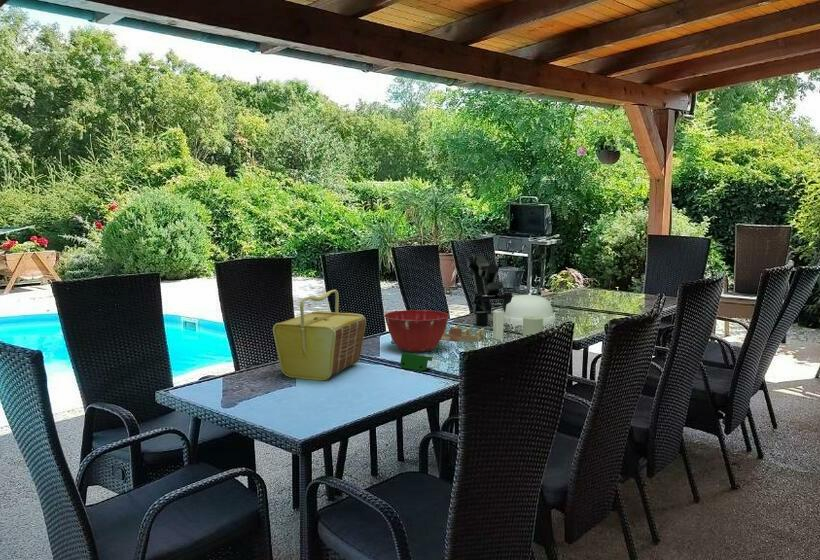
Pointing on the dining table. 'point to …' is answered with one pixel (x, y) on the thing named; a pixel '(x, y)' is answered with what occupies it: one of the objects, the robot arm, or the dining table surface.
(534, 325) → the can
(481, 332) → the rack
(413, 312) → the mixing bowl
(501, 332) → the tall off-white box
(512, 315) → the dome cover
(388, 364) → the dining table surface
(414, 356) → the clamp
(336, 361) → the picnic basket
